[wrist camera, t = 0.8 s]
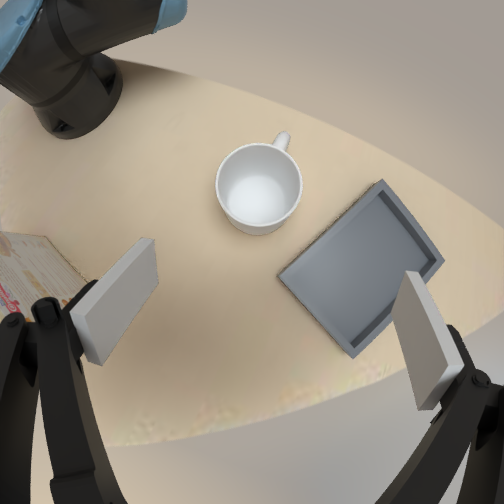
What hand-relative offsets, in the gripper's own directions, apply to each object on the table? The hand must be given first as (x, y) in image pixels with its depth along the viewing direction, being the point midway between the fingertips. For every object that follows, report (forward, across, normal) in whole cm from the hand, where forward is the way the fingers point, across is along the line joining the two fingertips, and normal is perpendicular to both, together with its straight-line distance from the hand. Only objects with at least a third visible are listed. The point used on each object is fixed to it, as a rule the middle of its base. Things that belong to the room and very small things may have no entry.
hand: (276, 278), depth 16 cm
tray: (+22, +11, -11) cm, 27 cm away
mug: (+25, -3, -3) cm, 25 cm away
